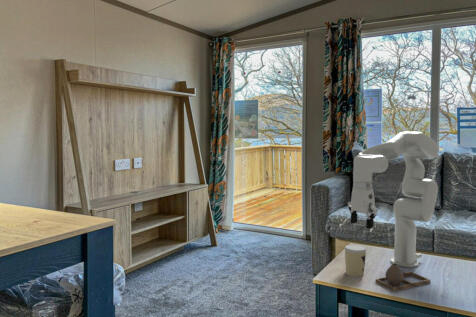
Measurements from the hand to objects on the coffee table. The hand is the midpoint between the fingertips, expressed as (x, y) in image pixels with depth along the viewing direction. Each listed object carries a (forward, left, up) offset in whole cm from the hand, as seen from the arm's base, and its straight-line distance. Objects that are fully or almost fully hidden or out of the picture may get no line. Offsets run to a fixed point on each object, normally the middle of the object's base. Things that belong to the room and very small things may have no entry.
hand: (361, 225), depth 163 cm
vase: (-10, +9, -25) cm, 28 cm away
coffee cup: (-4, -8, -25) cm, 26 cm away
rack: (-15, +7, -24) cm, 30 cm away
